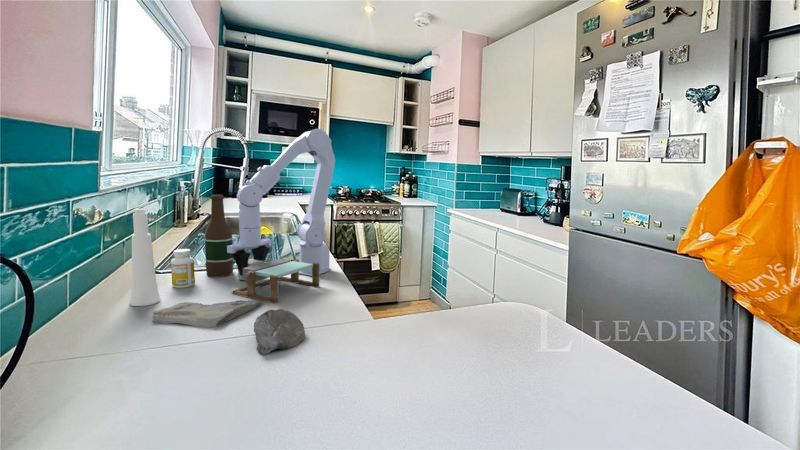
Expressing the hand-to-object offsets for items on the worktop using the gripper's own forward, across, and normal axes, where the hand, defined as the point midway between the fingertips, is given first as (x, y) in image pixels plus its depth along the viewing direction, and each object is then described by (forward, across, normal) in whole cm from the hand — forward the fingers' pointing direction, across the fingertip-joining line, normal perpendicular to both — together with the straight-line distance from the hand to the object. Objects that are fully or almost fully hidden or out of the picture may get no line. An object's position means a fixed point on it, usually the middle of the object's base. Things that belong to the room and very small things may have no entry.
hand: (251, 273), depth 111 cm
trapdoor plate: (-2, +4, +14) cm, 15 cm away
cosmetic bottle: (+2, +27, -5) cm, 28 cm away
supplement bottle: (+2, +14, -10) cm, 17 cm away
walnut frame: (+2, +4, +14) cm, 15 cm away
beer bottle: (+2, +1, -12) cm, 12 cm away
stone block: (+1, 0, 0) cm, 1 cm away
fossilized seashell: (+2, +27, +36) cm, 45 cm away
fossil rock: (+2, +24, +13) cm, 28 cm away
